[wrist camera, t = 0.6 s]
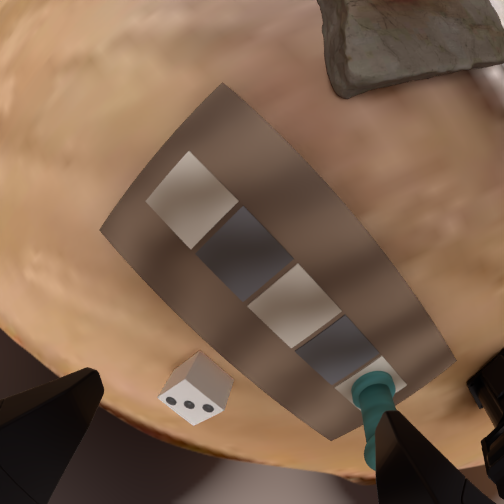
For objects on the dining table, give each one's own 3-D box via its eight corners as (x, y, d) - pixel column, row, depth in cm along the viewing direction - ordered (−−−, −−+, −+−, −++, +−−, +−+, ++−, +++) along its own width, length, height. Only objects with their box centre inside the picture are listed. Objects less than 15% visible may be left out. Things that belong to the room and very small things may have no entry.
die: (234, 378, 24) (223, 411, 20) (205, 396, 25) (193, 426, 21) (200, 349, 23) (184, 379, 19) (173, 369, 24) (156, 398, 20)
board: (451, 353, 20) (457, 361, 19) (330, 432, 24) (330, 442, 23) (227, 87, 17) (222, 81, 16) (107, 226, 21) (98, 230, 20)
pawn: (399, 385, 20) (425, 462, 12) (365, 407, 21) (378, 485, 13) (379, 363, 20) (405, 446, 12) (342, 387, 21) (353, 472, 13)
